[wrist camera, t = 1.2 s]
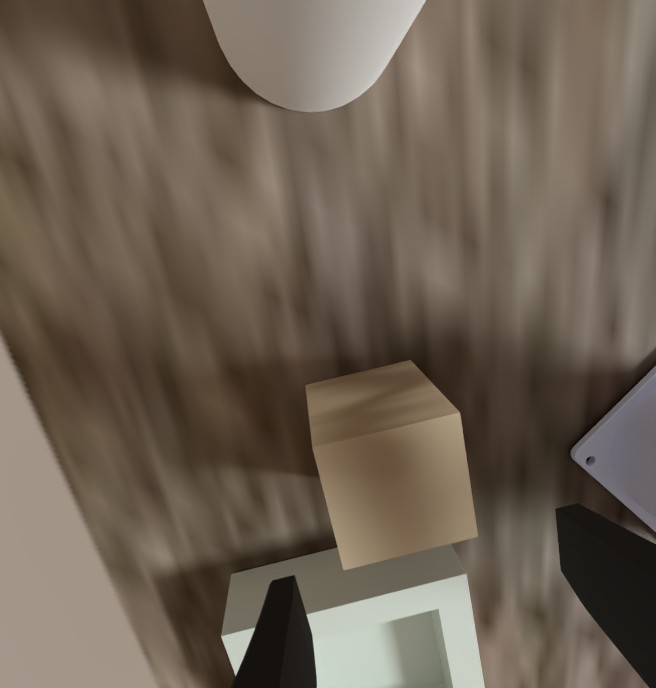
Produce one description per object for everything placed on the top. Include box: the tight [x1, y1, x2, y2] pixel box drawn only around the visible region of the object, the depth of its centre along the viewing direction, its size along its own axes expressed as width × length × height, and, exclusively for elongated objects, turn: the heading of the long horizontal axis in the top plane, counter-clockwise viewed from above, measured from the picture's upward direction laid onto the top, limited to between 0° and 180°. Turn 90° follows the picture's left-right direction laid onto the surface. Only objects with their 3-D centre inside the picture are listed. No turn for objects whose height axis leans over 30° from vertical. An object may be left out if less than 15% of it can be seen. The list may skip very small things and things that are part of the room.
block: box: [305, 360, 478, 570], centre depth 18 cm, size 5×5×6 cm
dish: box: [221, 544, 485, 688], centre depth 22 cm, size 11×11×4 cm
